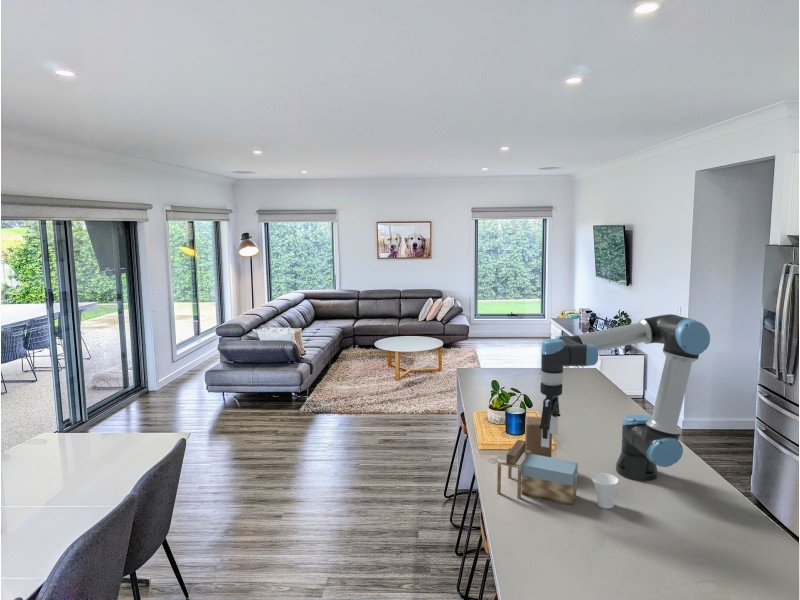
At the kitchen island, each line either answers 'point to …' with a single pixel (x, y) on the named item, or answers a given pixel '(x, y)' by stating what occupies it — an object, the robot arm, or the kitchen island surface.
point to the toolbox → (539, 486)
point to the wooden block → (535, 437)
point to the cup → (605, 489)
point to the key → (516, 452)
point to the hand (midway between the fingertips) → (549, 440)
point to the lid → (549, 469)
